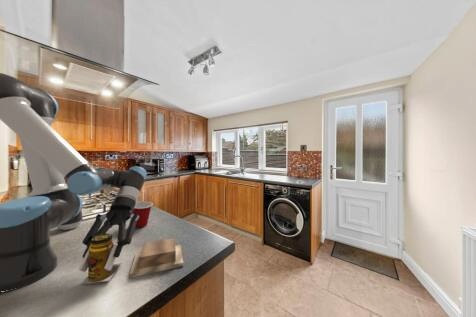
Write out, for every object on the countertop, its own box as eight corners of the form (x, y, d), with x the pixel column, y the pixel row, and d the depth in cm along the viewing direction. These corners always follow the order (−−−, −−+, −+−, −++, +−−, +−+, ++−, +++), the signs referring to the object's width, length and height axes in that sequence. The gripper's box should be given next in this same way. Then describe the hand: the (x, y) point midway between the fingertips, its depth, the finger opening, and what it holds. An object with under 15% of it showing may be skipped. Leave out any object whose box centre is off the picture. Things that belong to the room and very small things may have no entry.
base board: (129, 277, 53) (129, 261, 53) (136, 255, 65) (136, 242, 65) (183, 265, 59) (183, 251, 59) (180, 247, 71) (180, 235, 71)
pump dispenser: (55, 227, 88) (56, 198, 88) (82, 222, 95) (83, 195, 95) (52, 234, 80) (52, 202, 80) (81, 229, 87) (82, 199, 87)
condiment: (80, 284, 49) (81, 242, 49) (98, 266, 57) (99, 230, 57) (108, 281, 50) (110, 241, 50) (122, 263, 58) (123, 229, 58)
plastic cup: (136, 231, 85) (136, 207, 85) (125, 226, 91) (126, 204, 91) (156, 224, 94) (157, 203, 94) (145, 220, 100) (146, 200, 100)
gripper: (153, 205, 70) (133, 271, 54) (103, 205, 67) (65, 275, 51) (149, 195, 65) (125, 265, 48) (94, 195, 62) (49, 268, 46)
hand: (95, 270), depth 50 cm, fingers closed on condiment, 6 cm apart
